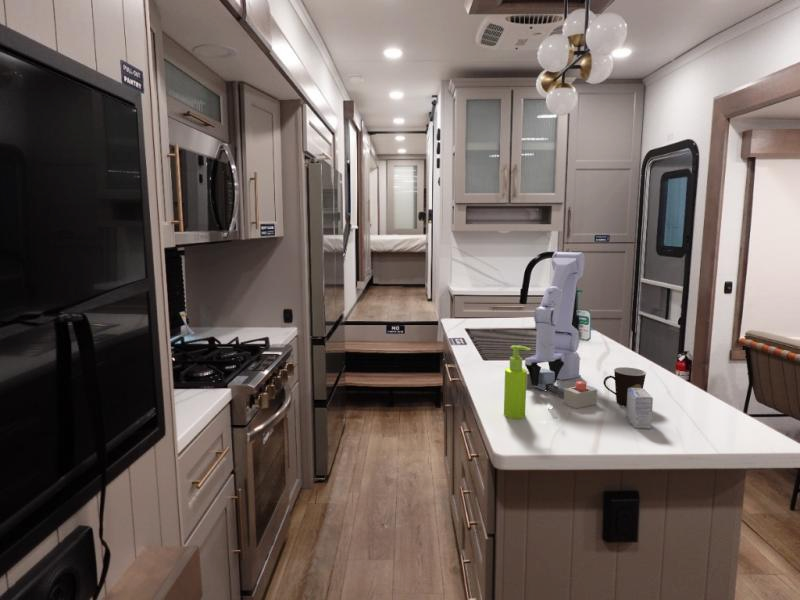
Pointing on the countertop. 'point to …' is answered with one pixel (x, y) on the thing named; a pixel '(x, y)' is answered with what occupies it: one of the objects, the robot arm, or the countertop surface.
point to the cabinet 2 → (580, 397)
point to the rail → (555, 390)
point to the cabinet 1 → (528, 380)
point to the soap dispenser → (515, 386)
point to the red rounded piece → (580, 386)
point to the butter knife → (552, 412)
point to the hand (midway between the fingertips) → (543, 383)
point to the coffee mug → (626, 382)
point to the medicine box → (639, 408)
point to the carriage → (545, 378)
